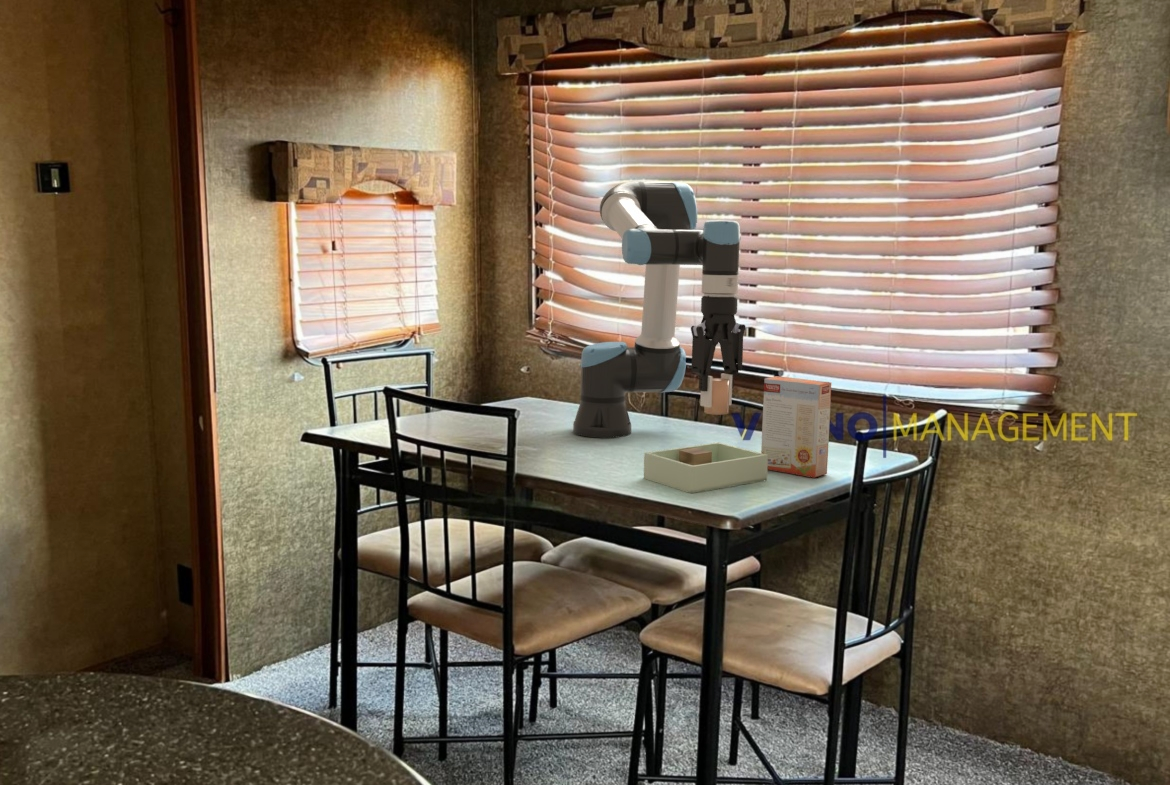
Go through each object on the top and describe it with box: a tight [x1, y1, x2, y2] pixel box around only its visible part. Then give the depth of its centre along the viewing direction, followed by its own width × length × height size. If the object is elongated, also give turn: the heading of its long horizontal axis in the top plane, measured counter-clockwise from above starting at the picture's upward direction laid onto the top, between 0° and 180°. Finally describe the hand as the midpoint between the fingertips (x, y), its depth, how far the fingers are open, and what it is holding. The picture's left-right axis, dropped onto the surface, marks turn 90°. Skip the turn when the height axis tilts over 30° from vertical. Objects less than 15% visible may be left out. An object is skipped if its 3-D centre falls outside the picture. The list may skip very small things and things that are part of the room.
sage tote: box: [643, 442, 768, 494], centre depth 241 cm, size 16×22×6 cm
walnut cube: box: [679, 448, 712, 465], centre depth 244 cm, size 5×5×5 cm
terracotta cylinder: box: [703, 377, 729, 416], centre depth 237 cm, size 5×5×7 cm
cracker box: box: [760, 375, 832, 479], centre depth 249 cm, size 14×6×21 cm, turn 49°
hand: (715, 405), depth 237 cm, fingers closed on terracotta cylinder, 5 cm apart
